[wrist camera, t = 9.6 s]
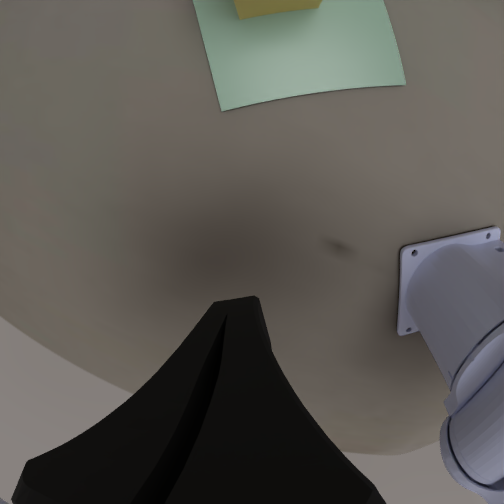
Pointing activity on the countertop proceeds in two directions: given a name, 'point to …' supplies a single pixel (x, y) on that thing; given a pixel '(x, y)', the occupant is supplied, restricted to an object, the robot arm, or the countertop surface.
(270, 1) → the yellow brick
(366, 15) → the baseplate
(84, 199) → the countertop surface
